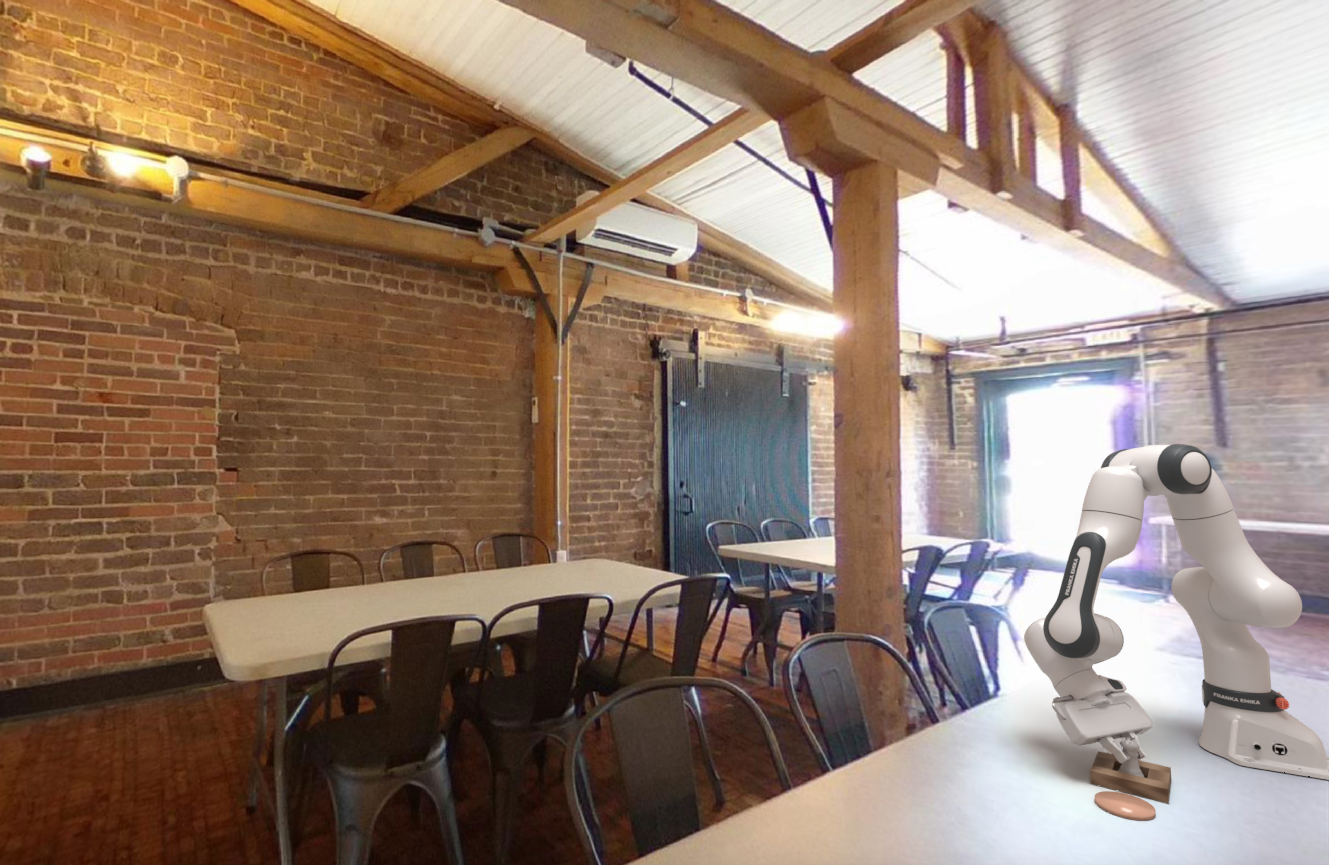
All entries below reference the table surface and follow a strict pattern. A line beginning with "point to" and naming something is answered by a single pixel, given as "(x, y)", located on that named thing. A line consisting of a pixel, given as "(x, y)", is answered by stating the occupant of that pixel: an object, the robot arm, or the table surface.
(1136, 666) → the table surface
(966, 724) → the table surface
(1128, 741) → the rook chess piece
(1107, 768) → the socket block
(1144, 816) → the coaster
